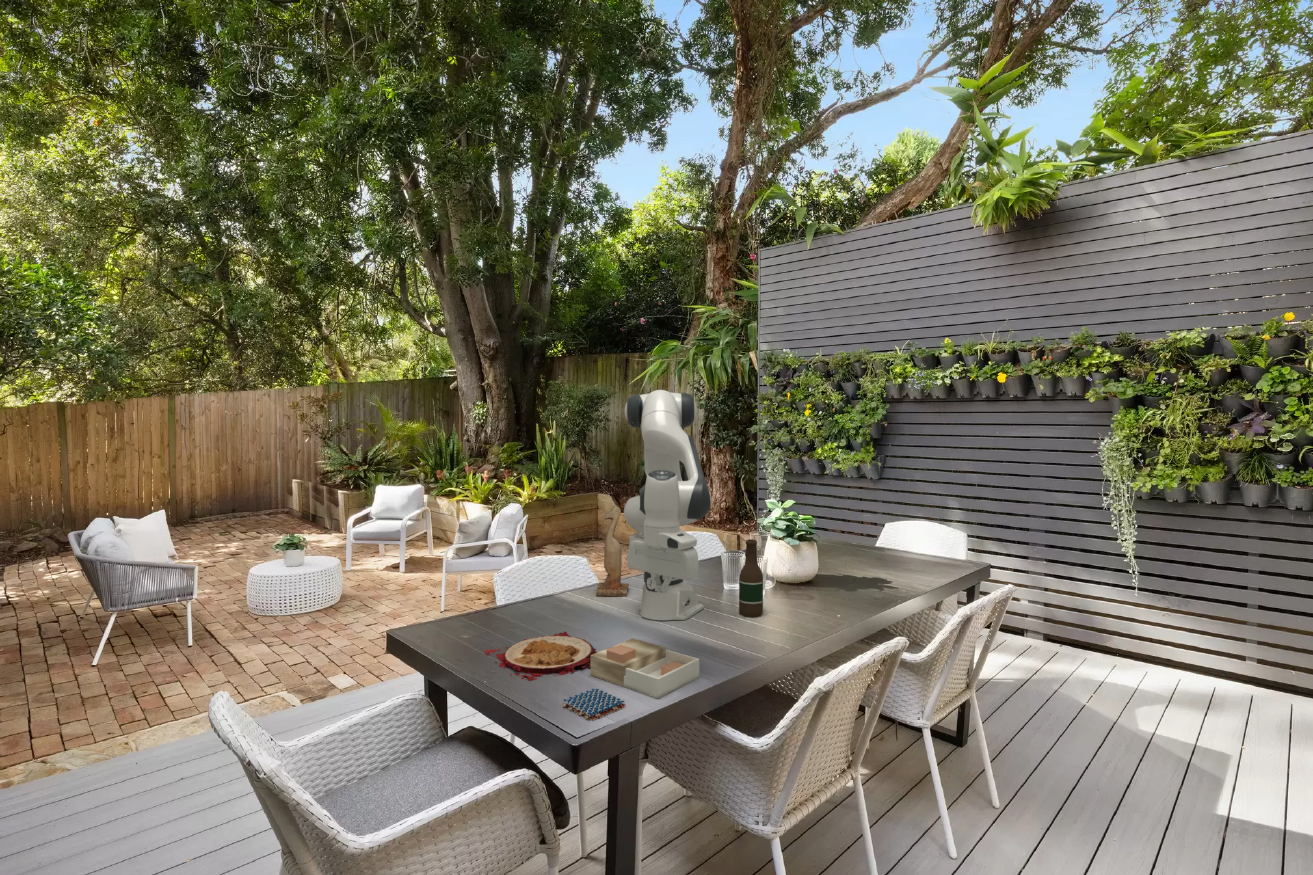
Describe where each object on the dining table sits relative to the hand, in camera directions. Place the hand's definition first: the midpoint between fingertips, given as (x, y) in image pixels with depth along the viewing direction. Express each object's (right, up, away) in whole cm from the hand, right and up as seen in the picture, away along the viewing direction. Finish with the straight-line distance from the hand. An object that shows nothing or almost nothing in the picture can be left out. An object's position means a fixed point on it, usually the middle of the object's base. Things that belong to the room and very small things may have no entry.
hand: (661, 591), depth 165 cm
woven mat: (-15, -22, -19) cm, 32 cm away
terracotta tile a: (+3, -18, -2) cm, 18 cm away
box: (0, -21, -5) cm, 21 cm away
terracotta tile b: (-10, -15, -3) cm, 19 cm away
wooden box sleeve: (-8, -20, +2) cm, 22 cm away
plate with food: (-30, -21, +10) cm, 38 cm away
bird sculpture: (-17, -18, +74) cm, 78 cm away
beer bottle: (+29, -19, +49) cm, 60 cm away
